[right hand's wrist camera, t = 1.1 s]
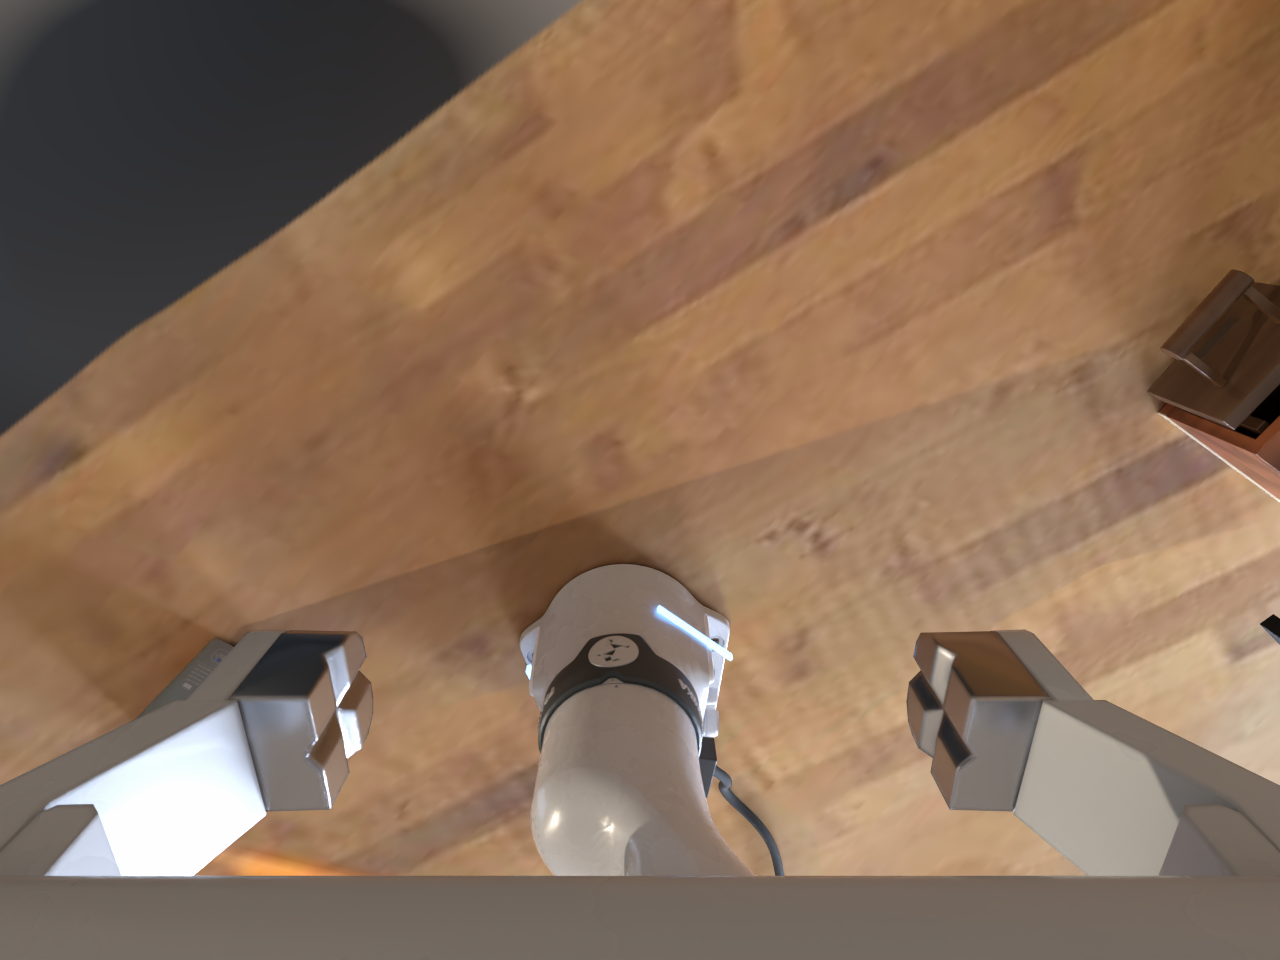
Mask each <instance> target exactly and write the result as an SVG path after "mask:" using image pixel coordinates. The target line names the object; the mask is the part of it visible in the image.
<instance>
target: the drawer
mask: <svg viewBox="0 0 1280 960" xmlns="http://www.w3.org/2000/svg"><path fill="white" fill-rule="evenodd" d="M1160 349H1161V350H1162V351H1163V352H1164V353H1166V354H1167V355H1169V356H1171V357H1173V358H1175V359H1176V360H1175V361H1174V362H1173V363H1172V364H1171V365H1170V367H1169V368H1168V369H1167V370H1166V371H1165V372H1164V373H1163V374H1162V375H1161V376H1160V377H1159V378H1158V380H1157V381H1156V382H1155V383H1154V384H1153V385H1152V386H1151V387H1150V388H1149V389H1148V390H1147V392H1148V393H1150V394H1151V395H1152V396H1154V397H1155V398H1156V399H1158V400H1161V401H1163V402H1166V403H1168V404H1171V405H1173V406H1176V407H1178V408H1181V409H1183V410H1186V411H1188V412H1191V413H1193V414H1196V415H1198V416H1201V417H1203V418H1205V419H1207V420H1209V421H1212V422H1214V423H1217V424H1219V425H1222V426H1224V427H1226V428H1229V429H1231V430H1234V431H1236V432H1239V433H1241V434H1244V435H1246V436H1249V437H1251V438H1254V439H1257V438H1258V437H1259V436H1260V435H1261V434H1262V433H1263V432H1264V431H1265V430H1266V429H1267V428H1268V427H1269V426H1270V425H1271V424H1272V423H1273V422H1274V421H1275V420H1276V419H1277V418H1278V417H1279V416H1280V286H1277V285H1270V284H1263V283H1256V282H1254V280H1253V278H1252V277H1250V276H1249V275H1247V274H1245V273H1243V272H1241V271H1238V270H1231V271H1230V272H1229V273H1228V274H1227V275H1226V276H1225V277H1224V278H1223V279H1222V280H1221V282H1220V283H1219V284H1218V285H1217V286H1216V287H1215V288H1214V289H1213V290H1212V291H1211V293H1210V294H1209V295H1208V296H1207V297H1206V298H1205V299H1204V300H1203V301H1202V302H1201V304H1200V305H1199V306H1198V307H1197V308H1196V309H1195V310H1194V311H1193V312H1192V314H1191V315H1190V316H1189V317H1188V318H1187V319H1186V320H1185V321H1184V322H1183V323H1182V325H1181V326H1180V327H1179V328H1178V329H1177V330H1176V331H1175V332H1174V333H1173V334H1172V336H1171V337H1170V338H1169V339H1168V340H1167V341H1166V342H1165V343H1164V344H1163V345H1162V347H1161V348H1160Z"/></svg>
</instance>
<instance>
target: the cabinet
mask: <svg viewBox="0 0 1280 960" xmlns="http://www.w3.org/2000/svg"><path fill="white" fill-rule="evenodd" d="M1157 413H1158V414H1160V415H1161V416H1162V417H1164V418H1165V419H1166V420H1168V421H1169V422H1171V423H1172V424H1173V425H1175V426H1176V427H1177V428H1179V429H1180V430H1182V431H1183V432H1184V433H1186V434H1187V435H1188V436H1190V437H1191V438H1192V439H1194V440H1195V441H1197V442H1198V443H1199V444H1201V445H1202V446H1203V447H1205V448H1206V449H1207V450H1209V451H1210V452H1212V453H1213V454H1214V455H1216V456H1217V457H1218V458H1220V459H1221V460H1222V461H1224V462H1225V463H1227V464H1228V465H1229V466H1231V467H1232V468H1233V469H1235V470H1236V471H1238V472H1239V473H1240V474H1242V475H1243V476H1244V477H1246V478H1247V479H1248V480H1250V481H1251V482H1253V483H1254V484H1255V485H1257V486H1258V487H1259V488H1261V489H1262V490H1263V491H1265V492H1266V493H1268V494H1269V495H1270V496H1272V497H1273V498H1274V499H1276V500H1277V501H1278V502H1280V416H1279V417H1278V418H1277V419H1276V420H1275V421H1274V422H1273V423H1272V424H1271V425H1270V426H1269V427H1268V428H1267V429H1266V430H1265V431H1264V432H1263V433H1262V434H1261V435H1260V436H1259V437H1258V438H1257V439H1254V438H1251V437H1249V436H1246V435H1244V434H1241V433H1239V432H1236V431H1234V430H1231V429H1229V428H1226V427H1224V426H1222V425H1219V424H1217V423H1214V422H1212V421H1209V420H1207V419H1205V418H1203V417H1201V416H1198V415H1196V414H1193V413H1191V412H1188V411H1186V410H1183V409H1181V408H1178V407H1176V406H1173V405H1171V404H1168V403H1166V404H1165V406H1164V407H1163V408H1162V409H1161V410H1160V411H1159V412H1157Z"/></svg>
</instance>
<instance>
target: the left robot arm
mask: <svg viewBox="0 0 1280 960" xmlns="http://www.w3.org/2000/svg"><path fill="white" fill-rule="evenodd" d="M1260 625H1261V626H1262V627H1263V628H1264V629H1265V630H1266V631H1267V632H1268V633H1269V634H1270V635H1271V636H1272V637H1273V638H1274V639H1275V640H1276V641H1277V642H1278V643H1279V644H1280V618H1278V617H1277V616H1275V615H1274V614H1273V615H1272V616H1270V617H1269V618H1267V619H1266V620H1265V621H1263V622H1262V623H1260Z"/></svg>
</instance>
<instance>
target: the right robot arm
mask: <svg viewBox="0 0 1280 960" xmlns="http://www.w3.org/2000/svg"><path fill="white" fill-rule="evenodd" d="M712 638H717V639H718V640H717V641H712V640H711V639H712ZM728 639H729V622H728V620H727V619H726V618H725V617H724V616H723V615H721V614H719V613H717V612H716V611H713V610H711V609H709V608H707V607H705V606H703V605H701V604H700V603H699V602H698V601H697V600H696V599H695V598H694V597H693V596H692V595H691V594H690V592H689V591H688V590H687V589H686V588H685V587H684V586H683V585H682V584H680V583H679V582H678V581H676V580H675V579H674V578H672V577H670V576H669V575H667V574H665V573H663V572H660V571H658V570H655V569H653V568H649V567H645V566H641V565H634V564H614V565H607V566H602V567H598V568H595V569H592V570H589V571H587V572H585V573H583V574H581V575H579V576H577V577H576V578H574V579H573V580H571V581H570V582H569V583H567V584H566V585H565V586H564V587H563V588H562V589H561V590H560V591H559V592H558V594H557V595H556V596H555V598H554V599H553V601H552V602H551V604H550V606H549V608H548V609H547V611H546V613H545V614H544V615H543V616H542V618H540V619H539V620H537V621H536V622H535V623H533V624H532V625H530V626H529V627H528V628H526V629H525V630H524V631H523V633H522V634H521V636H520V644H519V645H520V650H521V652H522V654H523V657H524V659H525V662H526V664H527V669H526V673H527V675H528V677H529V679H530V682H529V693H530V695H531V696H533V697H534V699H535V702H536V704H537V706H538V709H539V711H540V717H539V724H538V725H539V726H538V730H539V733H538V734H539V735H538V745H539V751H540V754H541V756H540V761H539V767H538V773H537V778H536V784H535V789H534V795H533V801H532V806H531V814H530V819H531V831H532V836H533V839H534V843H535V846H536V848H537V850H538V853H539V855H540V856H541V858H542V860H543V861H544V863H545V864H546V865H547V867H548V868H549V870H550V871H551V872H552V874H553V875H554V876H193V875H194V874H195V873H197V872H198V871H199V870H200V869H201V868H203V867H204V866H205V865H206V864H207V863H209V862H210V861H211V860H212V859H213V858H215V857H216V856H217V855H218V854H220V853H221V852H222V851H223V850H224V849H226V848H227V847H228V846H229V845H230V844H232V843H233V842H234V841H235V840H236V839H238V838H239V837H240V836H241V835H243V834H244V833H245V832H246V831H247V830H249V829H250V828H251V827H252V826H253V825H255V824H256V823H257V822H258V821H259V820H261V819H262V818H263V817H264V816H265V815H266V811H299V810H330V809H331V807H332V805H333V803H334V801H335V799H336V797H337V795H338V794H339V792H340V790H341V788H342V786H343V784H344V782H345V780H346V778H347V776H348V774H349V767H348V761H347V758H348V757H349V756H351V755H352V754H354V753H355V752H357V751H358V750H360V749H361V748H362V746H363V744H364V742H365V740H366V737H367V735H368V733H369V729H370V725H371V720H372V715H373V692H372V686H371V682H370V681H369V680H368V679H367V678H366V677H365V676H364V675H363V674H362V673H361V672H360V671H359V669H360V667H361V666H362V664H363V662H364V660H365V659H366V657H367V656H366V652H365V647H364V642H363V637H361V636H360V635H359V634H358V633H357V632H349V631H301V630H290V631H286V630H255V631H252V632H248V633H247V634H246V635H245V636H244V637H243V638H242V639H241V640H240V641H239V642H238V643H237V644H236V646H235V647H234V648H233V649H232V650H231V651H230V652H229V653H228V654H227V655H226V657H225V658H224V659H223V660H222V661H221V662H220V663H219V664H218V665H217V667H216V668H215V669H214V670H213V671H212V672H211V673H210V674H209V675H208V676H207V678H206V679H205V680H204V681H203V682H202V683H201V684H200V685H199V686H198V687H197V689H196V690H195V691H194V692H193V693H192V694H191V695H190V696H189V697H188V699H187V700H174V701H172V702H170V703H168V704H166V705H164V706H162V707H160V708H158V709H156V710H154V711H152V712H150V713H147V714H145V715H143V716H141V717H139V718H137V719H135V720H133V721H131V722H129V723H127V724H125V725H123V726H121V727H119V728H117V729H115V730H113V731H111V732H109V733H107V734H104V735H102V736H100V737H98V738H96V739H94V740H92V741H90V742H88V743H86V744H84V745H82V746H80V747H78V748H76V749H74V750H72V751H70V752H68V753H66V754H63V755H61V756H59V757H57V758H55V759H53V760H51V761H49V762H47V763H45V764H43V765H41V766H39V767H37V768H35V769H33V770H31V771H29V772H27V773H25V774H22V775H20V776H18V777H16V778H14V779H12V780H10V781H8V782H6V783H4V784H2V785H0V960H1280V785H1278V784H1275V783H1273V782H1271V781H1269V780H1267V779H1265V778H1263V777H1261V776H1259V775H1257V774H1255V773H1253V772H1251V771H1249V770H1247V769H1245V768H1243V767H1241V766H1239V765H1237V764H1235V763H1233V762H1231V761H1228V760H1226V759H1224V758H1222V757H1220V756H1218V755H1216V754H1214V753H1212V752H1210V751H1208V750H1206V749H1204V748H1202V747H1200V746H1198V745H1196V744H1194V743H1192V742H1190V741H1188V740H1186V739H1184V738H1181V737H1179V736H1177V735H1175V734H1173V733H1171V732H1169V731H1167V730H1165V729H1163V728H1161V727H1159V726H1157V725H1155V724H1153V723H1151V722H1149V721H1147V720H1145V719H1143V718H1141V717H1139V716H1137V715H1134V714H1132V713H1130V712H1128V711H1126V710H1124V709H1122V708H1120V707H1118V706H1116V705H1114V704H1112V703H1110V702H1108V701H1106V700H1093V699H1092V697H1091V696H1090V695H1089V694H1088V693H1087V692H1086V691H1085V690H1084V689H1083V688H1082V686H1081V685H1080V684H1079V683H1078V682H1077V681H1076V680H1075V679H1074V678H1073V676H1072V675H1071V674H1070V673H1069V672H1068V671H1067V670H1066V669H1065V668H1064V667H1063V665H1062V664H1061V663H1060V662H1059V661H1058V660H1057V659H1056V658H1055V657H1054V655H1053V654H1052V653H1051V652H1050V651H1049V650H1048V649H1047V648H1046V647H1045V646H1044V644H1043V643H1042V642H1041V641H1040V640H1039V639H1038V638H1037V637H1036V636H1035V634H1033V633H1031V632H1029V631H1027V630H999V631H983V632H930V633H920V635H919V637H918V639H917V641H916V646H915V651H914V656H913V657H914V659H915V660H916V662H917V664H918V666H919V667H920V669H921V671H920V672H919V673H918V674H917V675H916V676H915V677H914V678H913V679H912V680H911V681H910V682H909V687H908V694H907V713H908V722H909V726H910V729H911V733H912V736H913V738H914V740H915V742H916V744H917V746H918V748H919V749H920V750H922V751H923V752H925V753H926V754H928V755H929V756H931V757H932V758H933V761H932V767H931V774H932V776H933V778H934V780H935V782H936V784H937V786H938V788H939V790H940V791H941V793H942V795H943V797H944V799H945V801H946V803H947V805H948V807H949V809H950V810H980V811H1014V815H1015V816H1016V817H1017V818H1018V819H1020V820H1021V821H1022V822H1023V823H1025V824H1026V825H1027V826H1028V827H1029V828H1031V829H1032V830H1033V831H1034V832H1035V833H1037V834H1038V835H1039V836H1040V837H1041V838H1043V839H1044V840H1045V841H1046V842H1047V843H1049V844H1050V845H1051V846H1052V847H1053V848H1055V849H1056V850H1057V851H1058V852H1060V853H1061V854H1062V855H1063V856H1064V857H1066V858H1067V859H1068V860H1069V861H1070V862H1072V863H1073V864H1074V865H1075V866H1076V867H1078V868H1079V869H1080V870H1081V871H1082V872H1084V873H1085V874H1086V875H1087V876H784V872H783V866H782V862H781V857H780V854H779V851H778V848H777V846H776V844H775V841H774V839H773V837H772V835H771V834H770V832H769V831H768V829H767V828H766V827H765V825H764V824H763V823H762V822H761V820H760V819H759V818H758V817H757V816H756V815H755V814H754V813H753V812H752V811H751V810H750V809H749V808H748V807H747V806H745V805H744V804H743V803H742V802H741V801H740V800H739V799H738V798H737V797H736V796H735V795H734V794H733V793H732V791H731V790H730V789H729V787H730V786H731V785H732V780H731V777H730V776H729V775H728V774H727V773H726V772H725V771H723V770H722V769H720V768H719V767H718V766H716V762H717V757H716V750H715V743H714V738H711V737H715V736H717V735H718V729H719V715H718V711H717V710H716V705H717V700H718V694H719V688H720V683H721V677H722V672H723V666H724V661H725V658H727V659H728V660H730V661H731V660H732V659H733V657H732V654H731V653H730V652H728V651H727V644H728ZM713 776H714V777H716V778H717V779H719V780H720V782H719V790H720V792H721V793H722V795H723V796H724V797H725V799H726V800H727V801H728V802H729V803H730V804H731V805H732V806H733V807H734V808H735V809H736V810H737V811H738V812H740V813H741V814H742V815H743V816H744V817H745V818H746V819H747V820H748V821H749V822H750V823H751V824H752V825H753V826H754V827H755V828H756V830H757V831H758V832H759V833H760V835H761V836H762V838H763V839H764V841H765V842H766V844H767V846H768V848H769V851H770V854H771V857H772V861H773V865H774V870H775V876H756V875H755V874H754V873H753V872H752V871H751V870H750V869H749V868H748V867H747V866H746V865H745V864H744V863H743V862H742V861H741V860H740V859H739V858H738V857H737V856H736V855H735V853H734V852H733V851H732V850H731V849H730V847H729V846H728V845H727V843H726V842H725V841H724V839H723V838H722V836H721V835H720V833H719V832H718V830H717V828H716V827H715V825H714V823H713V820H712V818H711V816H710V813H709V809H708V805H707V801H706V798H707V797H708V794H709V790H710V786H711V782H712V778H713Z"/></svg>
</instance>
